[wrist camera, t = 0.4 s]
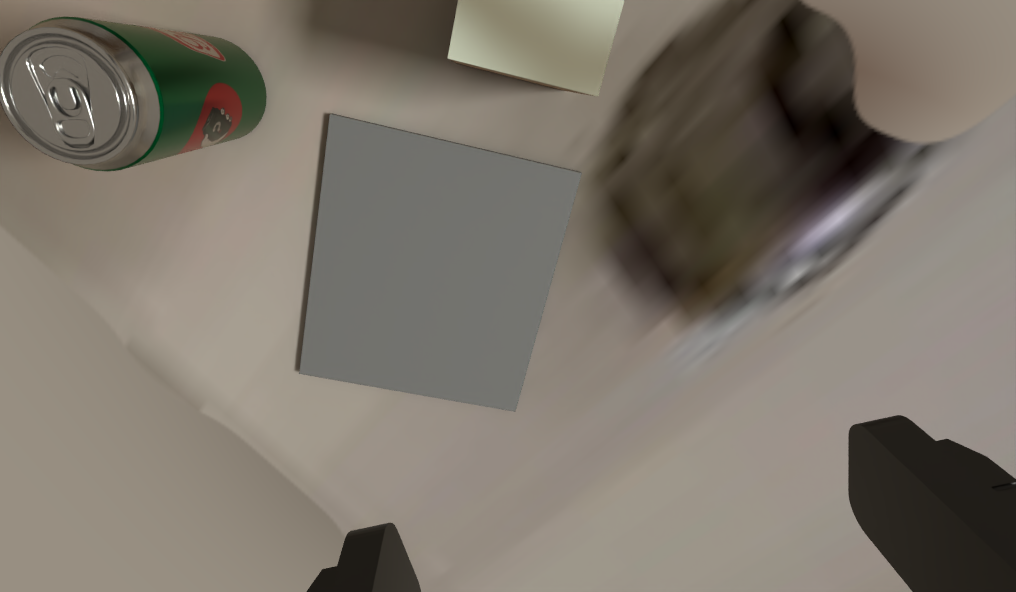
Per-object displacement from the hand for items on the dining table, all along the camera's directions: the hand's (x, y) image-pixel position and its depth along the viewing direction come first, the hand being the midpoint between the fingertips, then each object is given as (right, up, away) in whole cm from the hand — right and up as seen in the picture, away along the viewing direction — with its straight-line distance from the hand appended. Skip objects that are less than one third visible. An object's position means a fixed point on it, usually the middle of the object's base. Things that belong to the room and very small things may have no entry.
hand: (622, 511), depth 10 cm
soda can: (-17, +15, +20) cm, 30 cm away
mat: (-7, +5, +24) cm, 25 cm away
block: (-1, +17, +20) cm, 26 cm away
